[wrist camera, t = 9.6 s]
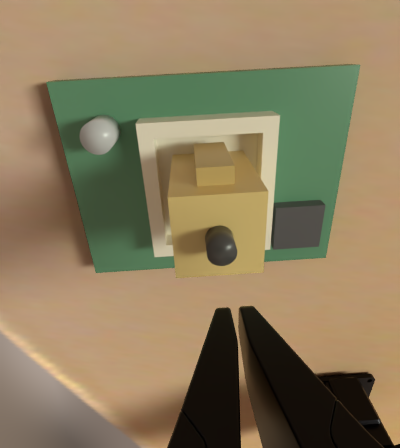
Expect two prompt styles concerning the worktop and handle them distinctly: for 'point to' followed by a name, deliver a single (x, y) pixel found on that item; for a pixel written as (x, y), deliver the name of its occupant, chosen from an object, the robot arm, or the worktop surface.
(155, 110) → the board
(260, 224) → the plug
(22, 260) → the worktop surface
